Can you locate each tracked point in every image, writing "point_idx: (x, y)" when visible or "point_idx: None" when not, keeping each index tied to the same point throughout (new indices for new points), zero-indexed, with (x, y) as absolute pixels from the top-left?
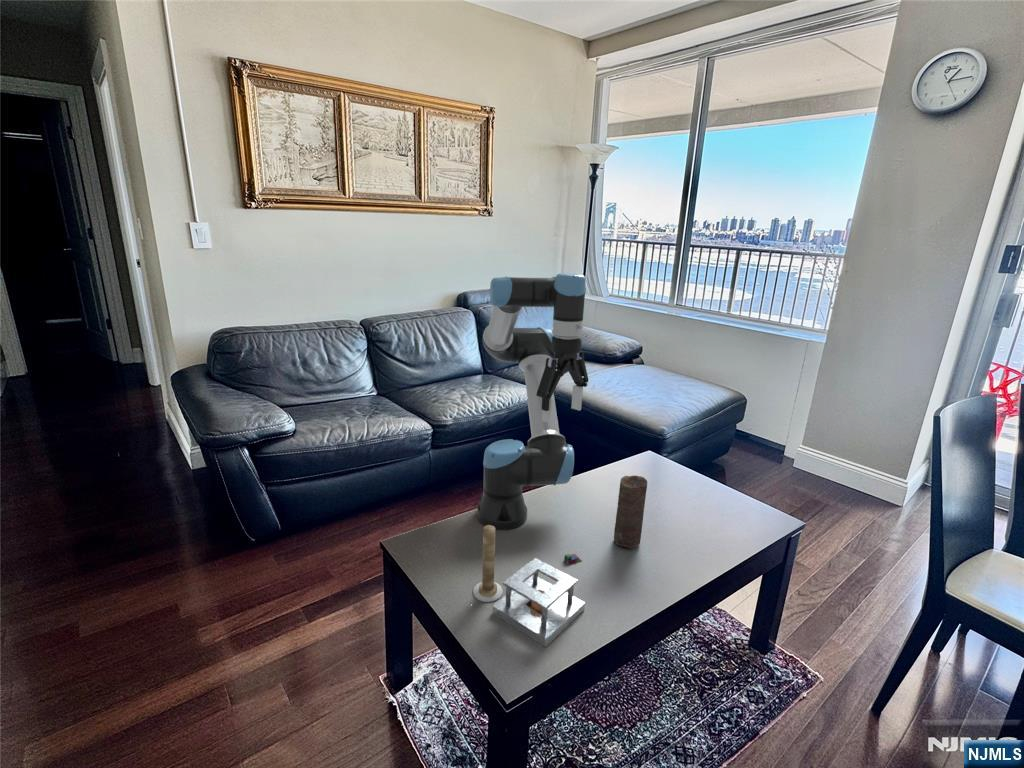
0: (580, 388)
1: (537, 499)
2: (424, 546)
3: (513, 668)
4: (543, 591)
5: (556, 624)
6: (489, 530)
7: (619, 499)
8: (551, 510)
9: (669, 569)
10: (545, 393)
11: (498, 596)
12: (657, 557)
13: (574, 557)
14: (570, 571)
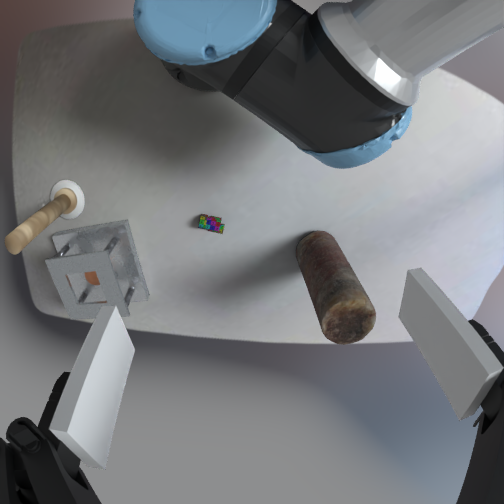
0: (458, 412)
1: None
2: (52, 55)
3: (48, 296)
4: None
5: (98, 300)
6: (11, 249)
7: (319, 286)
8: None
9: (300, 313)
10: (26, 494)
11: (72, 217)
12: None
13: (213, 226)
14: (188, 238)
